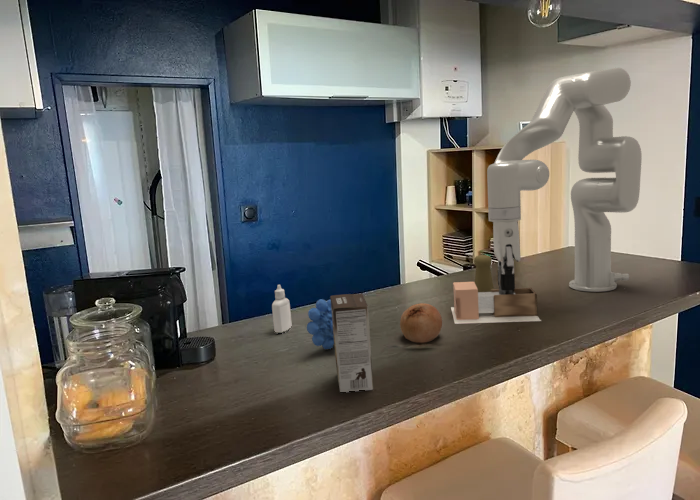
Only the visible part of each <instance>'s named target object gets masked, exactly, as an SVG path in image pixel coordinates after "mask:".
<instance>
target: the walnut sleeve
mask: <svg viewBox="0 0 700 500" xmlns="http://www.w3.org/2000/svg"><path fill="white" fill-rule="evenodd" d="M491 292H499V288H494V289H491ZM514 293H515V294H507V295H494V310H495V313H493V314H494V316H495V317H516V316H538V293H537V292H536V291H535V290H534V289H533V288H532V287H518V288H517V287H515V289H514Z"/></svg>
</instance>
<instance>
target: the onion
mask: <svg viewBox="0 0 700 500" xmlns="http://www.w3.org/2000/svg"><path fill="white" fill-rule="evenodd" d="M442 327H443V318H442V315H441V313H440V311H439V310H438V309H437V308H436V307H435V306H433V305H432V304H429V303H425V302H422V303H415V304H411V306H409V307H408V308H406V309H405V310H404V311H403V312H402V314H401V315H400V322H399V328H400V330H401V333H402V335H403V336H404V339H407V340H408V342H409V341H410V342H412V343H417V344H426V343H429V342H431V341H434V340H435V339H436V338H437V337H438V336H439V335H440V333H441V330H442V329H443V328H442Z"/></svg>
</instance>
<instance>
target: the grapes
mask: <svg viewBox="0 0 700 500" xmlns="http://www.w3.org/2000/svg"><path fill="white" fill-rule="evenodd" d="M307 315H308V318H309V319H310V321H309V322H307V325H306V332H308V334H310V335H312V337H311V340H312V341H311V342H312V343H313V344H314V346H316V347H320V346H321V347H322V348H323V350H326V349H330V350H331V348H332V349H333V347H334V335H333V323H332V311H331V299H328V300H325V299H324V298H322V299H319V298H318V300H316V303H315V307H310V309H309V310H308V313H307Z"/></svg>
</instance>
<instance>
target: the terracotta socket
mask: <svg viewBox="0 0 700 500" xmlns="http://www.w3.org/2000/svg"><path fill="white" fill-rule="evenodd" d="M452 287H453V288H452V289H453V307H454V311H455V315H456V319H457V320H465V319H479V309H478V289H477V287H476V284H475V281H460V282H459V281H457V282H455V281H454V282H453V283H452Z"/></svg>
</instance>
